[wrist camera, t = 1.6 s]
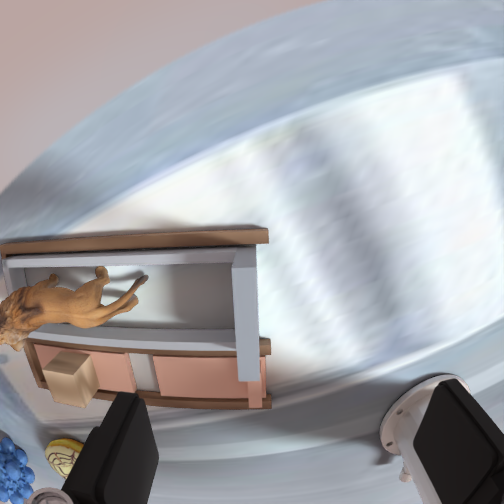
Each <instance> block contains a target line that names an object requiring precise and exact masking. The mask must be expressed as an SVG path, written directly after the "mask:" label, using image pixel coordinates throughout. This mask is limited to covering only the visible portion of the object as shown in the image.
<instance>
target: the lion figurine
mask: <svg viewBox="0 0 504 504" xmlns="http://www.w3.org/2000/svg"><path fill="white" fill-rule="evenodd" d="M95 274H96V277H97V279H94V280H92V281H89V282H87V283H85V284H84V285H83V286H82V287H80V288H78V289H77V290H76V291H75V292H74V291H72V290H70V289H68V288H62V287H56V285H58V283H59V279H58V277H57V276H56V275H55V274H51V275H50V277H49V279H47V280H44V281H40V282H38V283H37V284H36V285H35V286H32V287H30V286H27V287H21V288H19V289H18V290H17V291H13V292H12V293H11V294H10V296H9V297H7V298H6V299H5V300H4V301H2V302H1V304H0V345H2V344H5V343H6V344H8V345H10V346H11V347H12V348H13V349H14V350H16V351H18V352H19V351H20V350H21V349H22V348H23V346H24V343H25V342H24V340H25V338H27V337H28V335H29V334H30V333H31V332H33V331H35V330H36V329H38V328H40V327H41V326H42V325H43V324H47V323H63V322H68V323H70V324H72V325H74V326H77V327H80V328H91V327H95V326H99V325H101V324H103V323H105V322H106V321H107V320H109V319H110V318H112V317H113V316H115V315H117V314H120V313H123V312H128V311H130V310H131V309H132V308H133V307H134V306H135V305H137V304H138V298H137V296H135V295H133V294H134V292H135V291H136V290H137V288H138V287H139V286H140V285H142V284H144V283H145V282H146V281H147V280H148V275H144V276H142V277H140V278H138V279H137V280H136V281H135V282H134V284H133V285H132V287H131V288H130V289H129V290H128V291H127V293H125V294H124V295H123V296H122V297H121V298H119V299H118V300H117V301H115V302H113V303H111V304H109V305H107V306H104V305H103V304H100V301H101V297H102V290H103V287H104V285H106V284H108V283H110V278H109V275H108V272H107V270H106V268H105V267H103V266H98V267H97V268H96V269H95Z"/></svg>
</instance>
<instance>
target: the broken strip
mask: <svg viewBox="0 0 504 504" xmlns="http://www.w3.org/2000/svg"><path fill="white" fill-rule="evenodd" d="M34 347H35V350H36V353H37V356H38V359H39V362H40V364H41V367H42V369H43V368H44V367H45V366H46V365H47V364H48V363H49V362H50V361H51V360H52V359H53V358H54V357H55V356H56V355H57V354H58V353H59V352H60V351H64V352H71V353H79V354H88V355H91V358H92V361H93V365H94V368H95V371H96V375H97V378H98V381H99V384H100V387H99V389H103V390H111V391H118V392H120V391H123V392H130V393H135V391H136V389H137V386H136V382H135V378H134V374H133V370H132V366H131V362H130V358H129V354H128V353H125V352H112V351H100V350H90V349H80V348H72V347H63V346H56V345H48V344H41V343H34ZM259 357H260V381H239V378H238V365H237V356H189V355H159V354H154V355H153V361H154V366H155V371H156V375H157V380H158V384H159V389H160V393H161V396H174V397H193V398H249V408H262V398H266V364H265V355H259Z"/></svg>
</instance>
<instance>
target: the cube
mask: <svg viewBox="0 0 504 504" xmlns="http://www.w3.org/2000/svg"><path fill="white" fill-rule="evenodd" d="M42 371H43V374H44V377H45V379H46V382H47V384H48V387H49V389H50V392H51V394H52V397H53V399H54V402H58V403H63V404H67V405H72V406H77V407H82V408H86V406H87V405H88V403H89V402H90V400H91V399H92V397H93V396H94V395H95V393H96V392H97V390H98V389H99V387H100V384H99V381H98V378H97V375H96V371H95V368H94V365H93V361H92V358H91V355H88V354H79V353H71V352H64V351H60V352H59V353H58V354H57V355H56V356H55V357H54V358H53V359H52V360H51V361H50V362H49V363H48V364H47V365H46V366H45V367H44V368H43V369H42Z"/></svg>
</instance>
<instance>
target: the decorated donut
mask: <svg viewBox="0 0 504 504" xmlns="http://www.w3.org/2000/svg"><path fill="white" fill-rule="evenodd" d="M83 446H84V444H82V443H80V442H77V441H76V440H73V439H66V438H63V439H59V440H54V441H51V442H50V443H49V445H48V446H47V449H46V450H45V456H46V458H47V461H48V462H49V464H50V466H51V467H52V468H53V469H54V470H55V471H56V472H57V473H58V474H59V475H60V476H62V477H63V478H64V479H67V477H68V475H69V473H70V471H71V469H72V467H73V465H74V463H75V461H76V459H77V457H78V455H79V453H80V451H81V449H82V448H83Z"/></svg>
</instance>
